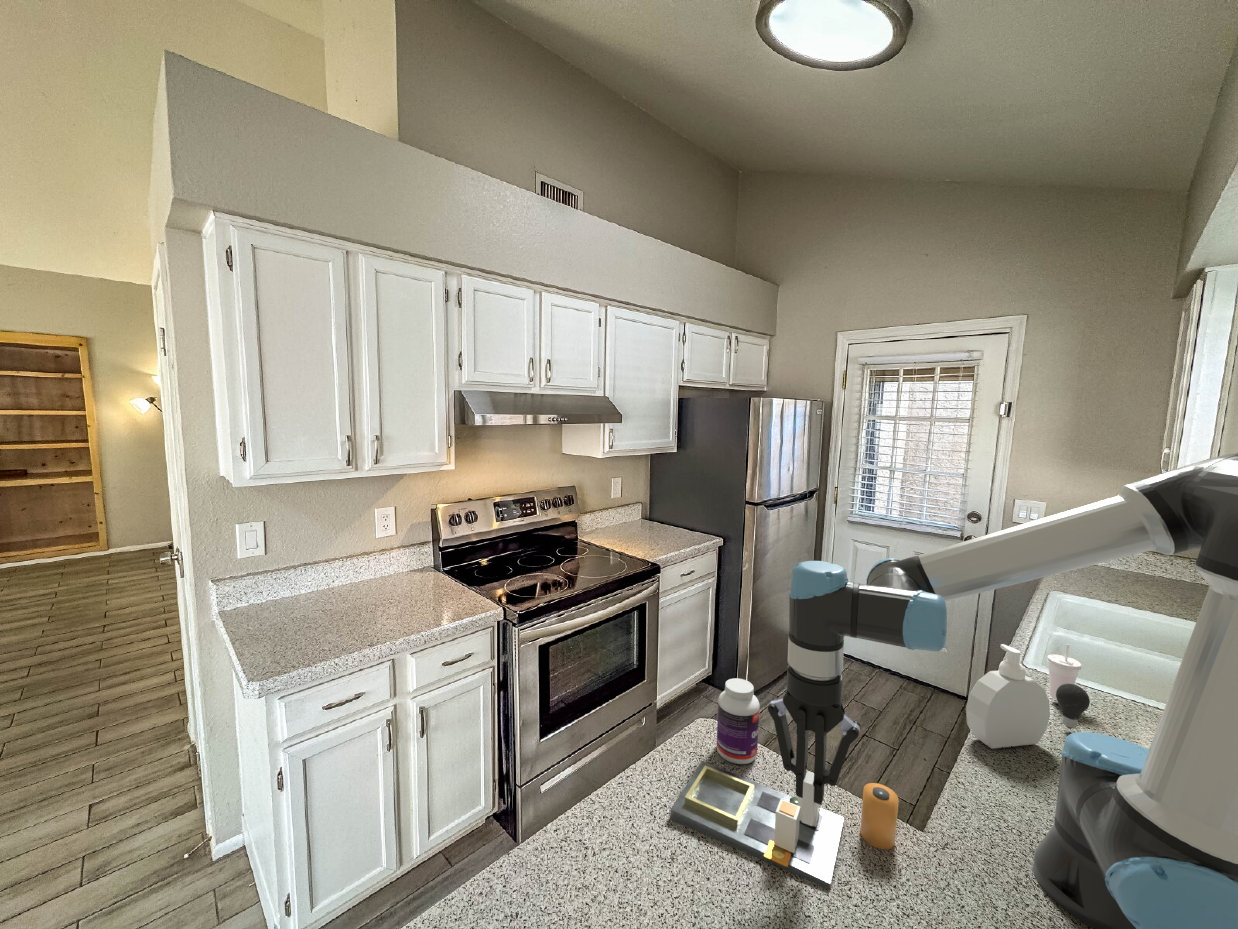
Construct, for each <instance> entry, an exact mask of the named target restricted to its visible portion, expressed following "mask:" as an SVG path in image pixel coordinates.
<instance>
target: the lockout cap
mask: <svg viewBox="0 0 1238 929" xmlns="http://www.w3.org/2000/svg"><path fill="white" fill-rule="evenodd" d="M862 792H863V793H862V802H861V803H862V804H861V805H862V806H861V819H860V831H859V832H860V836H861V838H862V839H863V840H864V842H865V843H867V844H869V845H870V846H872V847H874V848H876V849H880V850H891V849H893V848H894V847H895V846H896V836H897V826H898V824H897V823H898V813H899V802H900V800H899V796H898V795H897V793H896V792H895V791H894V790H893V789H891V788H890V787H888V786H886V785H885V784H884V785H883V784H881V783H878V782H869V783H866V784H865V785H864V786H863V791H862Z"/></svg>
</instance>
